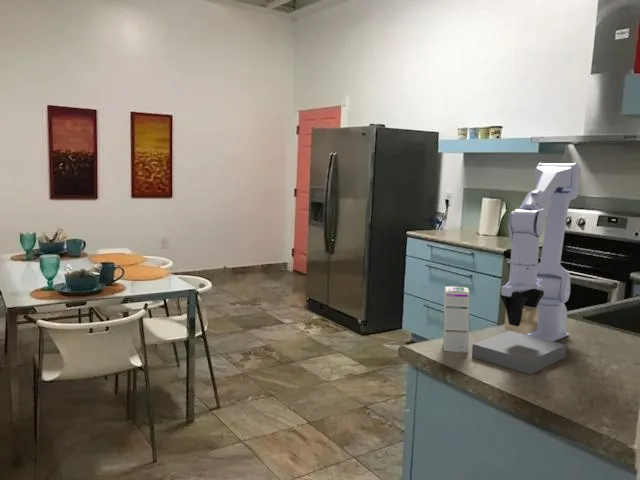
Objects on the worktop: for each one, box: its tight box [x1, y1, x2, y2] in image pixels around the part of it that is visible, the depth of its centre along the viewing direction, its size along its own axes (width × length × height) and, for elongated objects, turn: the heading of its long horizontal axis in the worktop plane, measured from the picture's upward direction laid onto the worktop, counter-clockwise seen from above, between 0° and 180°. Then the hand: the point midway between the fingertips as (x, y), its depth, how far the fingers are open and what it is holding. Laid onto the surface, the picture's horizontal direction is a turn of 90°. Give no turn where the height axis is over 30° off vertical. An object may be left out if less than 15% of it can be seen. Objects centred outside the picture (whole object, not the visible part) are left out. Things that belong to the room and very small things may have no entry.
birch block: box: [504, 306, 538, 334], centre depth 124 cm, size 5×5×5 cm
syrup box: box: [442, 285, 470, 354], centre depth 130 cm, size 6×6×14 cm
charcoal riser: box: [471, 330, 567, 375], centre depth 125 cm, size 16×14×3 cm
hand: (520, 322), depth 124 cm, fingers closed on birch block, 5 cm apart
